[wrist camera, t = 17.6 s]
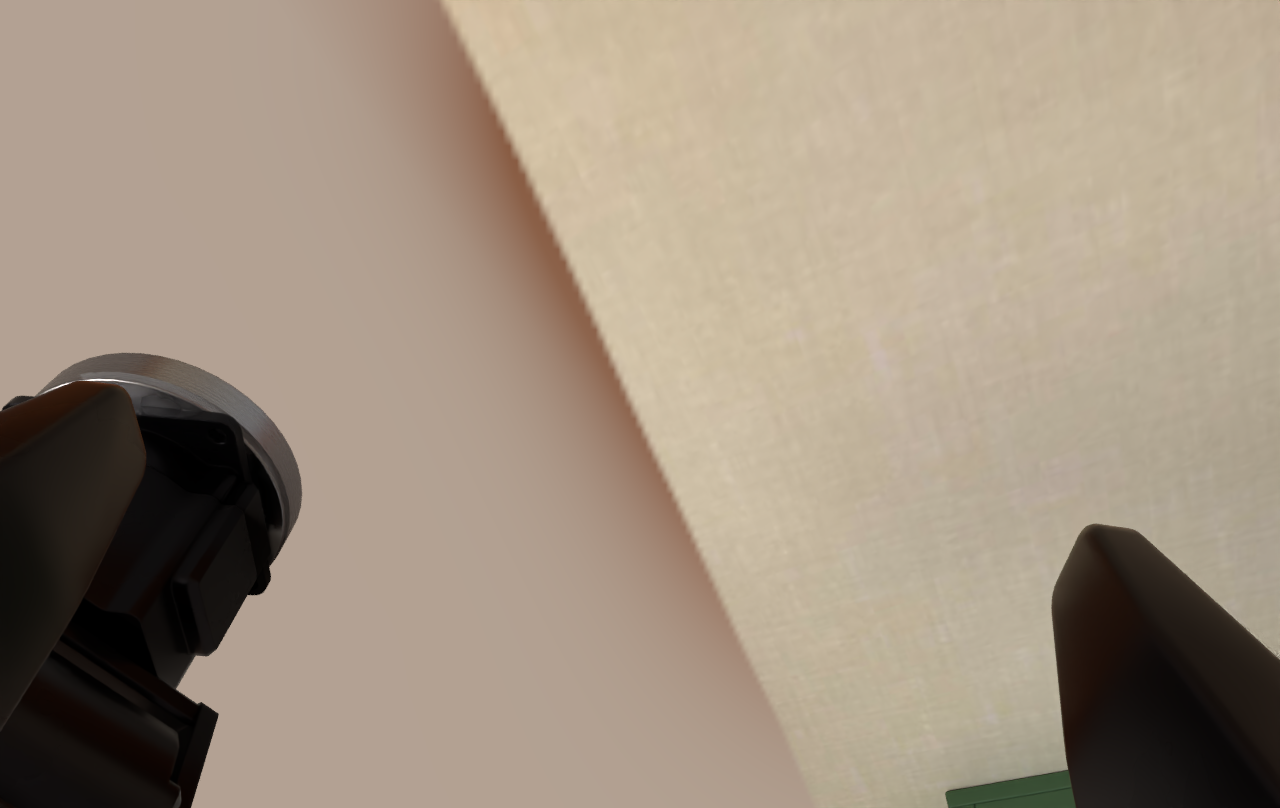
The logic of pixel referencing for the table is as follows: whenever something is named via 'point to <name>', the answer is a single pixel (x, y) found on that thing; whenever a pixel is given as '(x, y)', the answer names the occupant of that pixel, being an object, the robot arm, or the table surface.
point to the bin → (1017, 793)
